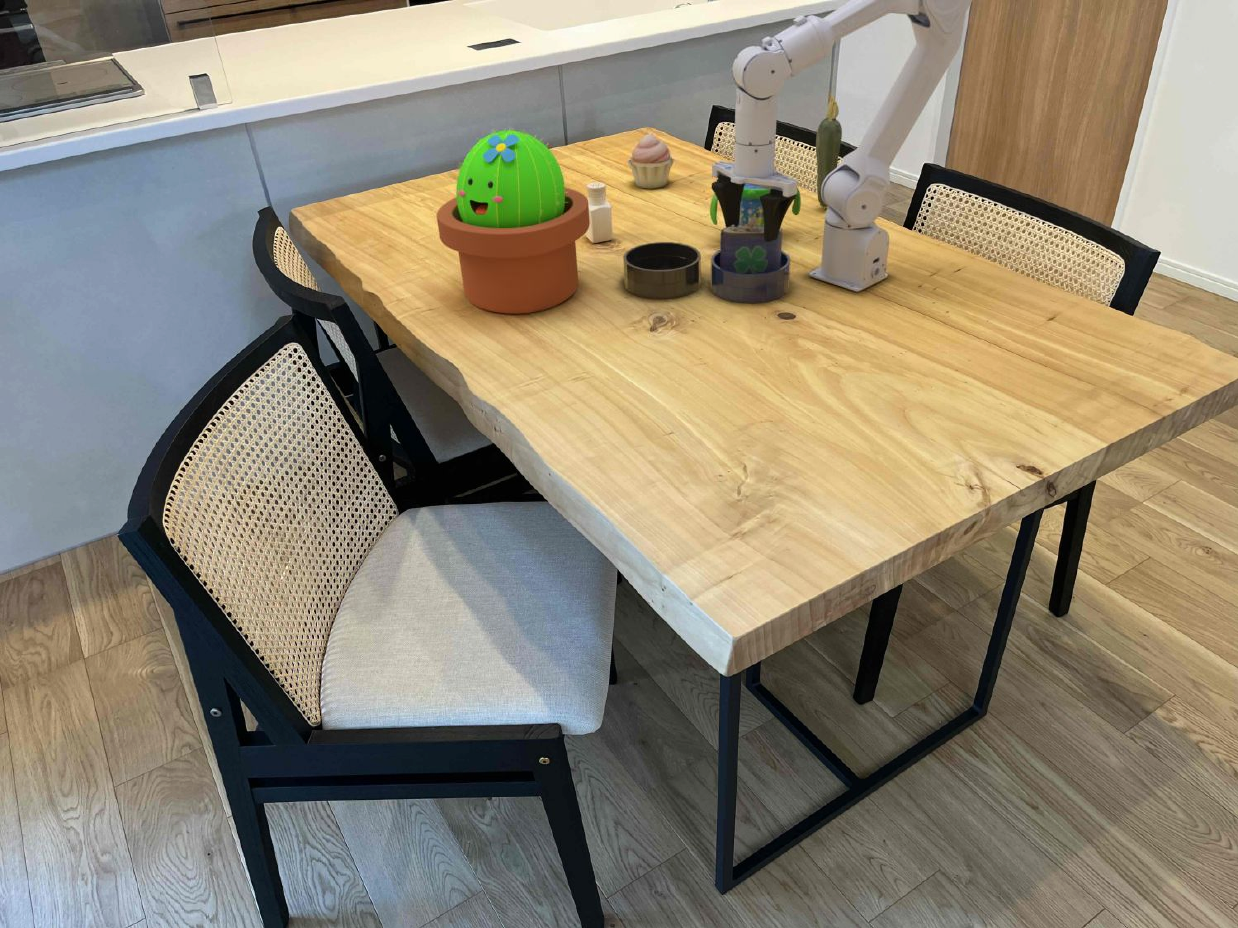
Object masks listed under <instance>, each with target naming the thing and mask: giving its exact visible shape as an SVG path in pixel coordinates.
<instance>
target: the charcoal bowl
mask: <svg viewBox="0 0 1238 928" xmlns="http://www.w3.org/2000/svg"><path fill="white" fill-rule="evenodd" d="M622 257H623V281H624V288H625V289H626V291H627V292H629V293H631V294H632V295H634V296H637V297H640V298H645V299H651V300H669V299H677V298H681V297H684V296H688V295H690V294H692V293H695V292H696V291H697V290H698V289H699V288H700V286H701V283H702V254H701V252H700V251H699V250H698V249H697V248H696V247H694V246H692V245H689V244H685V243H681V242H674V241H656V242H648V243H644V244H643V243H642V244H639V245H636V246H634V247H632V248H630V249H628V250H627V251H625V252H624V254H623V256H622Z"/></svg>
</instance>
